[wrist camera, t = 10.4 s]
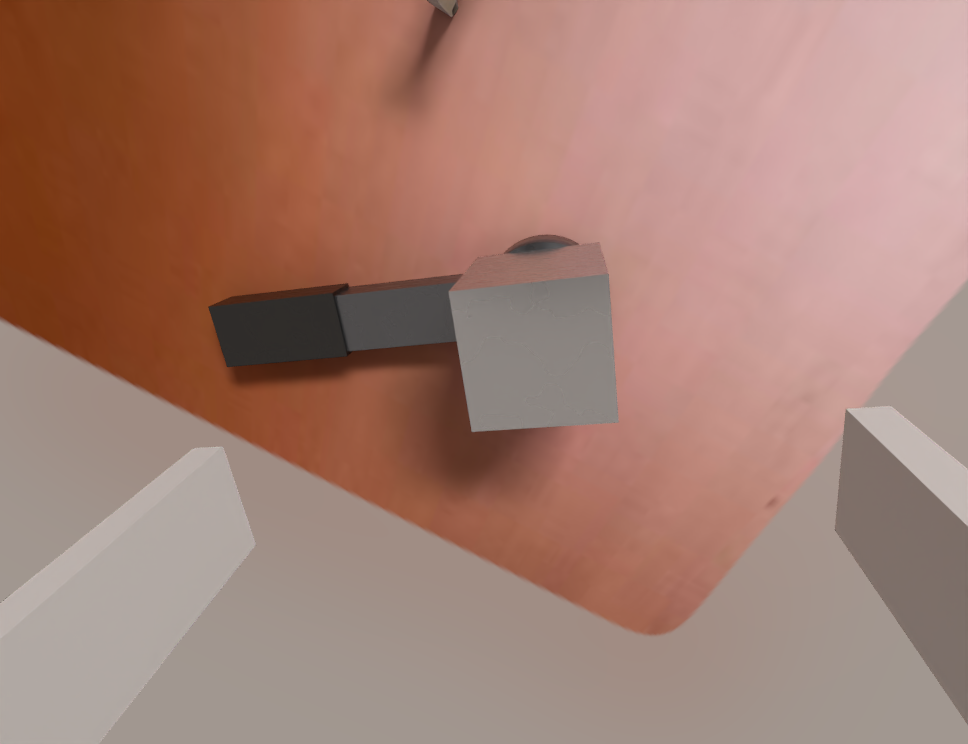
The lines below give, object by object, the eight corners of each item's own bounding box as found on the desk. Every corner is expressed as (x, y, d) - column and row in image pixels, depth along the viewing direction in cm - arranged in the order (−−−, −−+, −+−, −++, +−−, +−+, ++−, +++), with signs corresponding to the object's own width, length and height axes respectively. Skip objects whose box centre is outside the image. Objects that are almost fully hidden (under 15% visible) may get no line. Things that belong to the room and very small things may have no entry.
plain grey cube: (478, 256, 27) (448, 291, 20) (599, 242, 26) (608, 273, 19) (494, 368, 29) (471, 431, 22) (607, 358, 28) (618, 422, 21)
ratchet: (224, 273, 32) (143, 303, 26) (600, 227, 28) (608, 249, 22) (254, 374, 34) (185, 423, 28) (608, 343, 30) (617, 392, 24)
